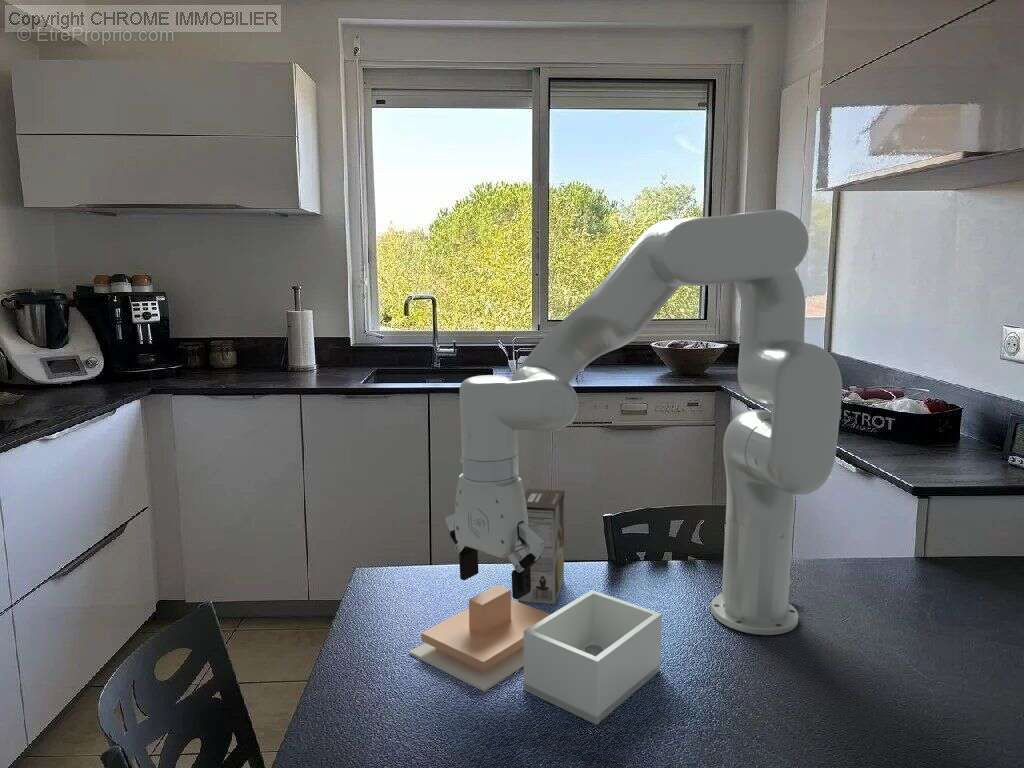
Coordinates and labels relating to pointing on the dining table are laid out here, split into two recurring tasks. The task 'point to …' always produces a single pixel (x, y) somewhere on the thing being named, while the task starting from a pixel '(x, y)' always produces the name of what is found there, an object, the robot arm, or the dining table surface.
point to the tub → (592, 654)
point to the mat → (467, 672)
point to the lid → (484, 629)
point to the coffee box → (546, 544)
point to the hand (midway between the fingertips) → (494, 585)
